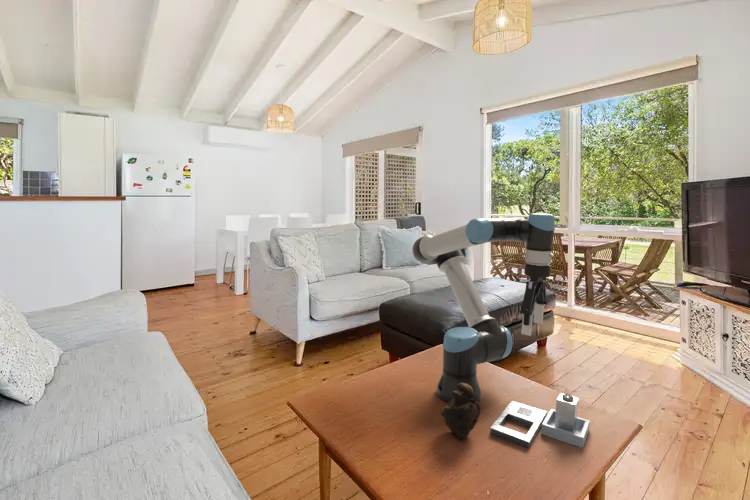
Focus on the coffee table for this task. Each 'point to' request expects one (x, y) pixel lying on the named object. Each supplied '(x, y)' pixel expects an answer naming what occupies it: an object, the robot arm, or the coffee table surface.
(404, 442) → the coffee table surface
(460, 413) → the sculpture
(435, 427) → the coffee table surface
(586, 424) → the tray
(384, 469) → the coffee table surface
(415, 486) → the coffee table surface
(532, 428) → the grey slotted plate
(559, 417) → the knob block
